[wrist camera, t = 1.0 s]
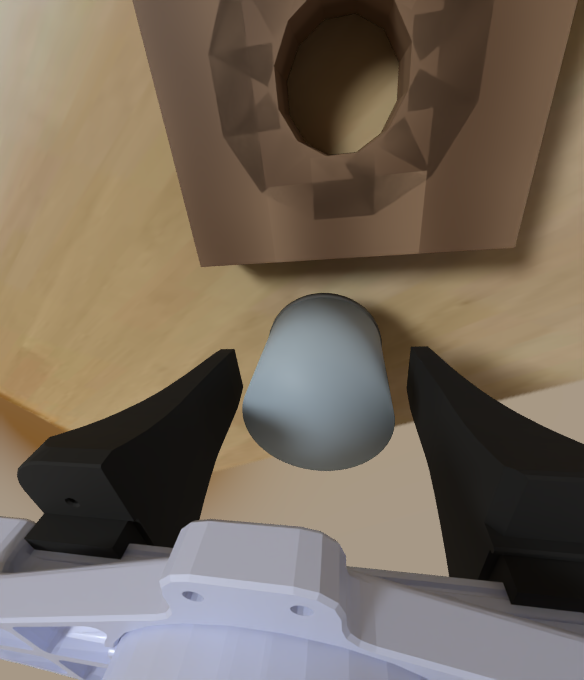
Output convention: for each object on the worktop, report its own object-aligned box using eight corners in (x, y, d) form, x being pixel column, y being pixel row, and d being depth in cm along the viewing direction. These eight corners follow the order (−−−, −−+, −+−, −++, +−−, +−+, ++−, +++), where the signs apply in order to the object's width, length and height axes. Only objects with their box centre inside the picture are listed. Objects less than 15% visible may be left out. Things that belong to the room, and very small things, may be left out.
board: (581, -228, 8) (671, -370, 6) (487, 232, 13) (514, 247, 11) (144, -99, 10) (89, -168, 8) (220, 251, 15) (200, 266, 13)
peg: (378, 270, 15) (402, 357, 9) (374, 359, 17) (391, 475, 11) (273, 276, 16) (226, 358, 9) (284, 360, 18) (254, 467, 12)
